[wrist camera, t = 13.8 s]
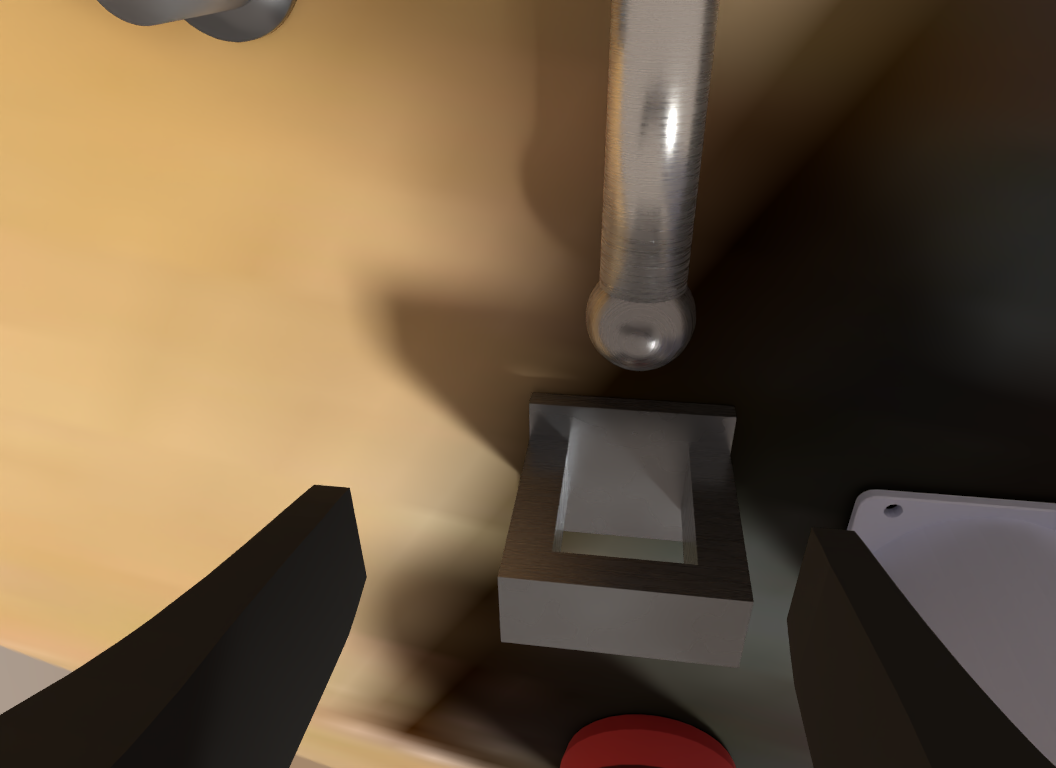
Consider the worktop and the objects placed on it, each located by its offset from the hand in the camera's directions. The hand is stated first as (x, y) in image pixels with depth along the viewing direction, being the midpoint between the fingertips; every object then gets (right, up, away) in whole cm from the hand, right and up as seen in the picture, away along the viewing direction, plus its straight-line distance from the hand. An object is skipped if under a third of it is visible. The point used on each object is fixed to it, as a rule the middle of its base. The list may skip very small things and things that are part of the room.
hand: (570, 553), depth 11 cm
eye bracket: (+2, 0, +11) cm, 12 cm away
